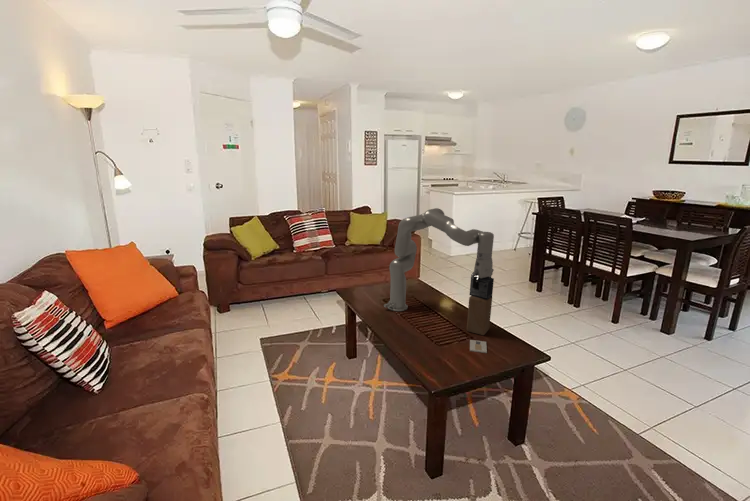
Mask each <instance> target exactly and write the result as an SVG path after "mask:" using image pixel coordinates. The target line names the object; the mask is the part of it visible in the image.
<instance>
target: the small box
mask: <svg viewBox="0 0 750 501" xmlns="http://www.w3.org/2000/svg"><path fill="white" fill-rule="evenodd" d="M476 279H477V277H476ZM494 279H495V278H493V277H491V278H489V277H486V278H480V279H479V281H478V282H479V285H478V289H475V288H473V280H472V277H471V276H470V285H469V296H475V297H479V298H483V299H486V300H487V299H489V298H491V297H492V298H493V292H494V281H495V280H494Z"/></svg>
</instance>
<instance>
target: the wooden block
mask: <svg viewBox="0 0 750 501" xmlns="http://www.w3.org/2000/svg"><path fill="white" fill-rule="evenodd" d="M492 304H493V296H492V297H491V298H489V299H487V300H486V299H483V298H479V297H475V296H471V295H469V297H468V307H467V308H468V310H467V318H466V319H467V320H466V322H467V323H466V331H467V332H469V333H472V334H477V335H481V336H484V335H486V334H487V333H488V332H489V330H490V326H491V316H492V315H491V314H492Z"/></svg>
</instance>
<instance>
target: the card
mask: <svg viewBox="0 0 750 501" xmlns="http://www.w3.org/2000/svg"><path fill="white" fill-rule="evenodd" d="M469 352H475V353H481V354H482V353H483V354H487V353H488V350H487V341H484V340H483V341H482V340H477V339H476V340H474V339H470V340H469Z"/></svg>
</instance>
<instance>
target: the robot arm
mask: <svg viewBox="0 0 750 501" xmlns="http://www.w3.org/2000/svg"><path fill="white" fill-rule="evenodd" d="M398 223H399V224H398V227H397V235H396V237H395V238H396V239H395V244H394V254H395V256H396V257H397V258H395V259H393V260H392V261H390V263H389V268H388V270H389V274H390V286H389V287H390V290H389V297H390V299H389V300H388V303H385V304H383V307H384V308H387V309H388V310H390V311H393V312H394V311H395V312H403V311H404V312H405V311H406V310H408V304H406V294H407V293H406V292H407V279H406V278H407V277H406V274H405V273H407V272H408V271H410V270H412V268H414V266H415V260H416V256H417V251H418V249H417V248H418V246H417V244H416V242H415V241H414V240H413V239H412V232H417V231H420V230H423V229H427V228H428V227H432V228H435V229H437V230H439V231H441V232H443V233H445V235H446V236H447V237H448V238H450V239H451V240H452V241H453V242H456V243H458V244H460V245H462V246H464V247H470V246H473V245H475V244H477V250H476V259H475V264H474V269H473V272H471V274H470V275H471V276H470V278H471V277H472V280H473V288H475V289H478V285H479V282H478V281H479V279H480V278H486V277H489V278H492V276H493V274H494V271H495V270H494V266H493V249H494V241H495V240H494V238H495V237H494V236H495V235H494V233H493V232H489V231H483V230H479V229H474V228H473V229H469V230H465V229H462V228H460V227H458V226H457V225H456V224H455V220H454V219H453V218H451V217H449V216H447V215H445V212H444V211H443V209H441V208H439V207H436V208H431V209H428V210H426V211H424V213H422V214H418V215H413V216H409V217H405V218H403V219H401V220H400V221H399V222H398ZM476 277H477V279H476Z"/></svg>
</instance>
